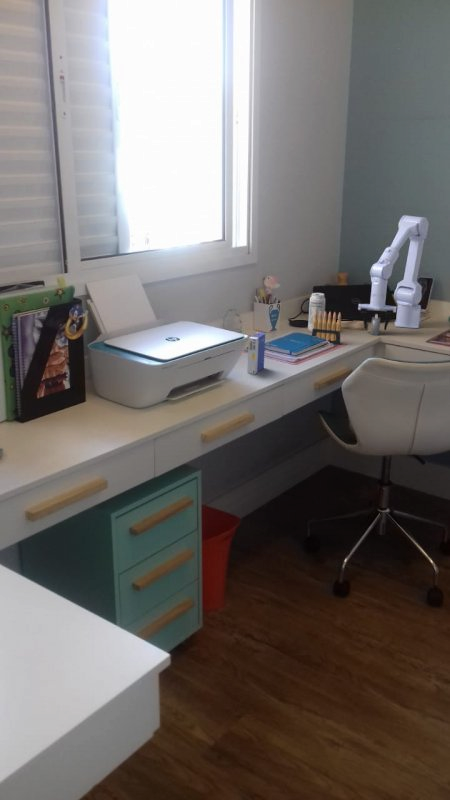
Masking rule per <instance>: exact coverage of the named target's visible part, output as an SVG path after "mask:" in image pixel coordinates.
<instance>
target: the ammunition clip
mask: <svg viewBox="0 0 450 800" xmlns="http://www.w3.org/2000/svg"><path fill="white" fill-rule="evenodd" d="M336 319H338V320H337V326H336ZM341 320H342V315H341V312H338V315H337V313H336V311H334V312H333V316H332V313H331V311H329V313H328V314H327V310H325V312H324V316H323V322H322V312H321V311H320V313H319V319H318V326H317V310H316V311H315V314H314V320H313V330H312V333H311V337H312V336H316V338H317V337H320V338H324V339H326V340H328V341H329V342H330V343H333V344H332V345H338V344H339V345H340V344H341V331H342V330H341Z"/></svg>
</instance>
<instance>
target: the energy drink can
mask: <svg viewBox="0 0 450 800" xmlns="http://www.w3.org/2000/svg"><path fill="white" fill-rule="evenodd" d="M308 307H309V308H308V323H307V330H308V332H309V333H311V334H312V330H313V320H314V314H315V311H316V310H317V326H318V319H319V313H320V311H321V312H322V322H323V316H324V312H325V311H326V310H325V309H326V297H325V293H322V292H313V293H311V295H310V297H309V306H308Z"/></svg>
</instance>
